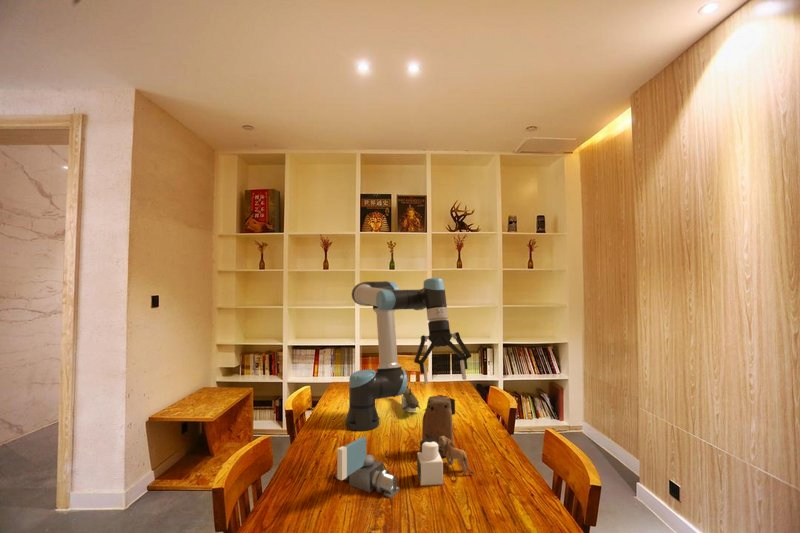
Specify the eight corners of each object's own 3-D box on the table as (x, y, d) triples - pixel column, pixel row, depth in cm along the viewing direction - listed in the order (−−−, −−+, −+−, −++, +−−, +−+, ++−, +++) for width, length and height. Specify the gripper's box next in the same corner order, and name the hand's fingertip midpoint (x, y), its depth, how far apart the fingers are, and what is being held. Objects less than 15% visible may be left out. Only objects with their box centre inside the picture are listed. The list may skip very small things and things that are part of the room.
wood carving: (408, 397, 205) (408, 377, 205) (425, 419, 170) (424, 394, 171) (393, 398, 203) (392, 378, 204) (406, 420, 169) (406, 395, 169)
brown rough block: (450, 448, 139) (449, 394, 140) (454, 457, 131) (453, 400, 132) (421, 449, 138) (421, 395, 139) (424, 458, 131) (423, 401, 132)
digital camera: (457, 413, 178) (456, 399, 178) (448, 416, 174) (448, 401, 175) (442, 408, 186) (442, 394, 186) (434, 410, 183) (434, 395, 183)
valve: (333, 481, 117) (333, 459, 118) (347, 472, 123) (347, 451, 123) (388, 502, 105) (388, 478, 106) (401, 490, 111) (401, 468, 112)
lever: (365, 458, 118) (365, 431, 118) (376, 461, 115) (376, 434, 116) (334, 477, 106) (334, 447, 106) (345, 482, 103) (345, 451, 104)
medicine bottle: (417, 474, 120) (416, 436, 120) (438, 473, 120) (438, 435, 121) (420, 486, 113) (419, 446, 113) (443, 484, 113) (442, 444, 114)
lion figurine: (434, 463, 127) (433, 436, 128) (444, 458, 131) (443, 432, 132) (469, 478, 117) (468, 449, 117) (479, 472, 120) (478, 444, 121)
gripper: (405, 322, 128) (411, 385, 123) (474, 316, 131) (483, 378, 126) (403, 324, 135) (408, 384, 130) (468, 318, 138) (477, 377, 133)
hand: (445, 381), depth 128 cm, fingers open, 13 cm apart
